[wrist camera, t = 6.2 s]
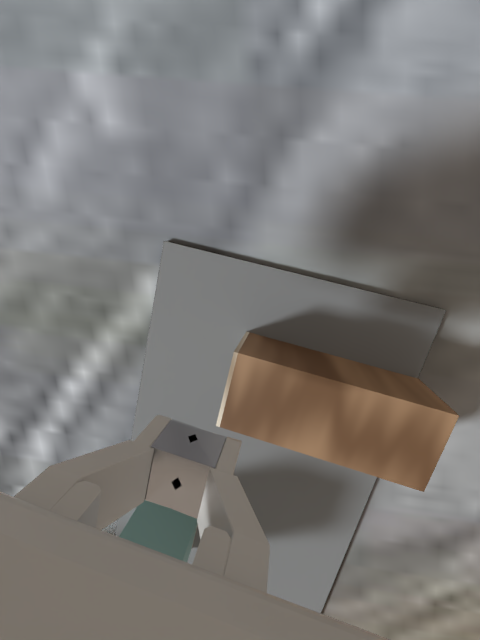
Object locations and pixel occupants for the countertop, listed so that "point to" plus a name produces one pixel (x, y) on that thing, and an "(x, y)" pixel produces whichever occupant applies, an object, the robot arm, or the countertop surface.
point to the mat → (211, 376)
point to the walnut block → (336, 410)
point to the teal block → (161, 530)
